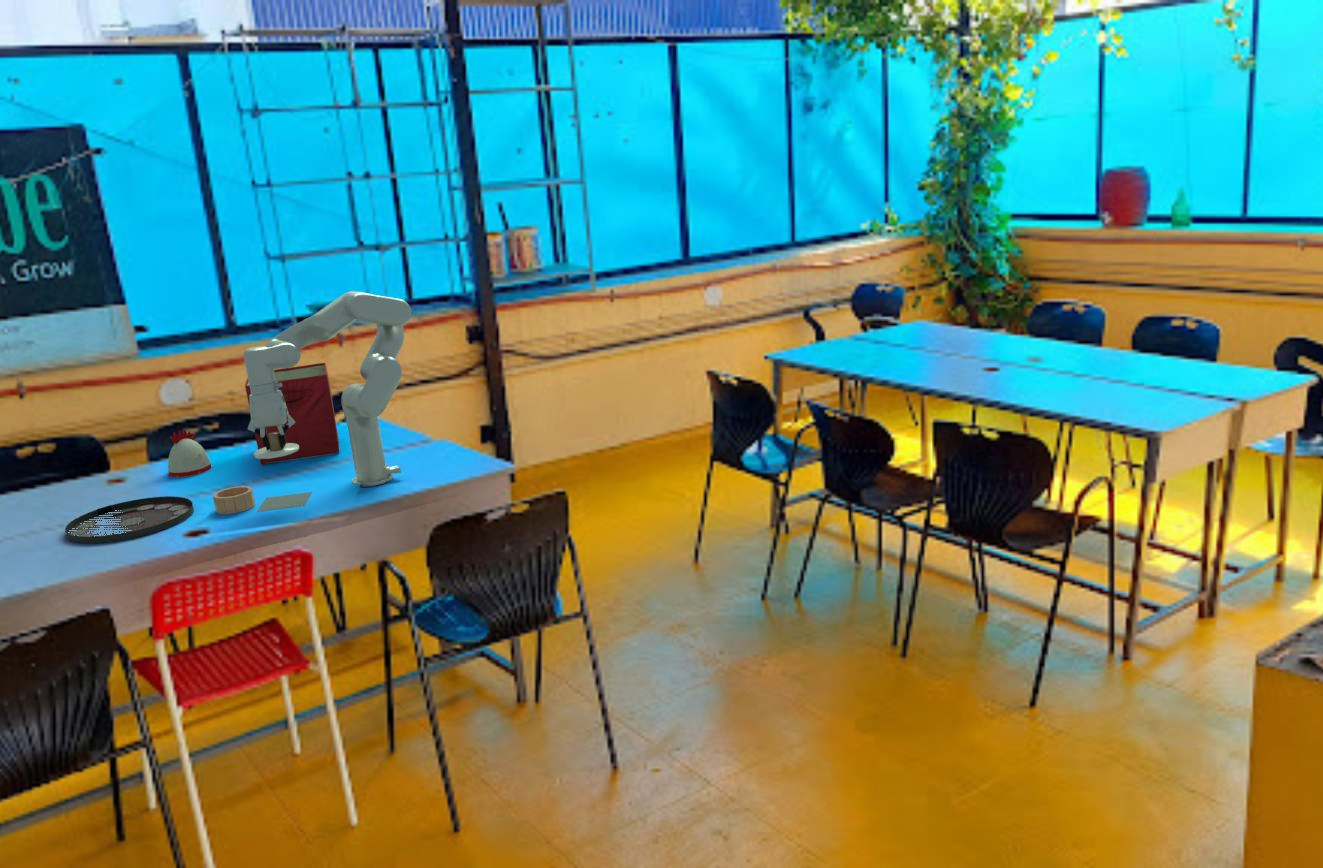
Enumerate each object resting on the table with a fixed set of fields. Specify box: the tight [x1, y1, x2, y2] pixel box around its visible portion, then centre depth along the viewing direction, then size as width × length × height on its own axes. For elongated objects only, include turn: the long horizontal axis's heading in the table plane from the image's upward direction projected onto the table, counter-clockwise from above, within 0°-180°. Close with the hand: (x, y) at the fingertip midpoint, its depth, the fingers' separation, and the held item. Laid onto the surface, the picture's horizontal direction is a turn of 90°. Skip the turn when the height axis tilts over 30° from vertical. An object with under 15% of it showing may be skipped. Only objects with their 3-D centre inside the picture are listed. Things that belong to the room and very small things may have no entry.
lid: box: [253, 432, 299, 460], centre depth 329 cm, size 13×13×6 cm
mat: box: [256, 491, 313, 513], centre depth 334 cm, size 14×14×1 cm
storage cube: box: [244, 362, 340, 466], centre depth 392 cm, size 32×28×29 cm
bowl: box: [212, 485, 256, 515], centre depth 332 cm, size 11×11×6 cm
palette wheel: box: [64, 496, 195, 544], centre depth 331 cm, size 35×35×3 cm
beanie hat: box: [167, 429, 212, 478], centre depth 381 cm, size 14×14×15 cm
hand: (276, 447), depth 330 cm, fingers closed on lid, 3 cm apart
